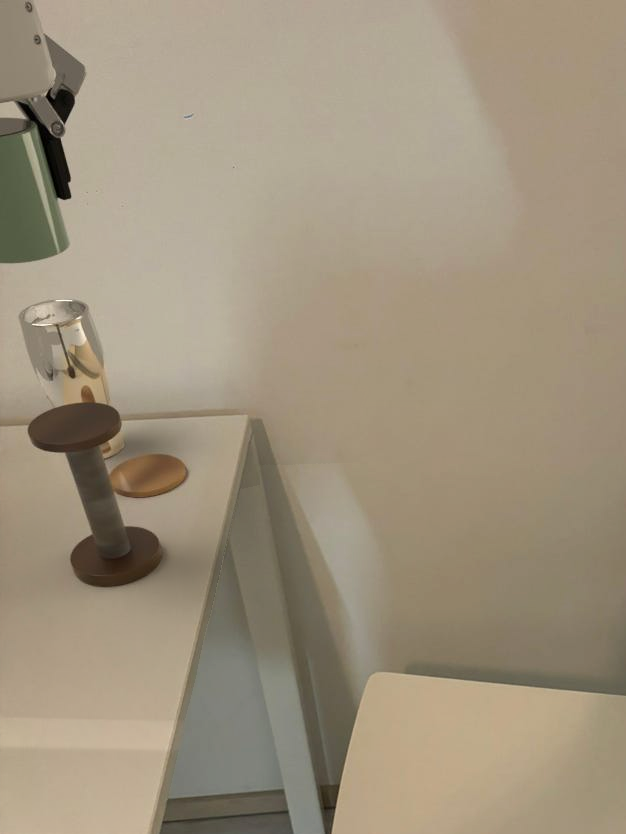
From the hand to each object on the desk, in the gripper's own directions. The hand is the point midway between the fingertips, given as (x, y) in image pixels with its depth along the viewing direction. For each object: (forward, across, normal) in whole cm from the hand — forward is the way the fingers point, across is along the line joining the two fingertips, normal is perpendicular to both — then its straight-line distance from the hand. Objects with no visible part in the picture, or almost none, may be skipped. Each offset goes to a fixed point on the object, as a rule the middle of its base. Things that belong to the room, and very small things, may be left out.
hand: (10, 204), depth 67 cm
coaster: (+30, -9, -9) cm, 33 cm away
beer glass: (+31, -9, -19) cm, 37 cm away
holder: (+30, +1, +2) cm, 30 cm away
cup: (+3, 0, 0) cm, 3 cm away
